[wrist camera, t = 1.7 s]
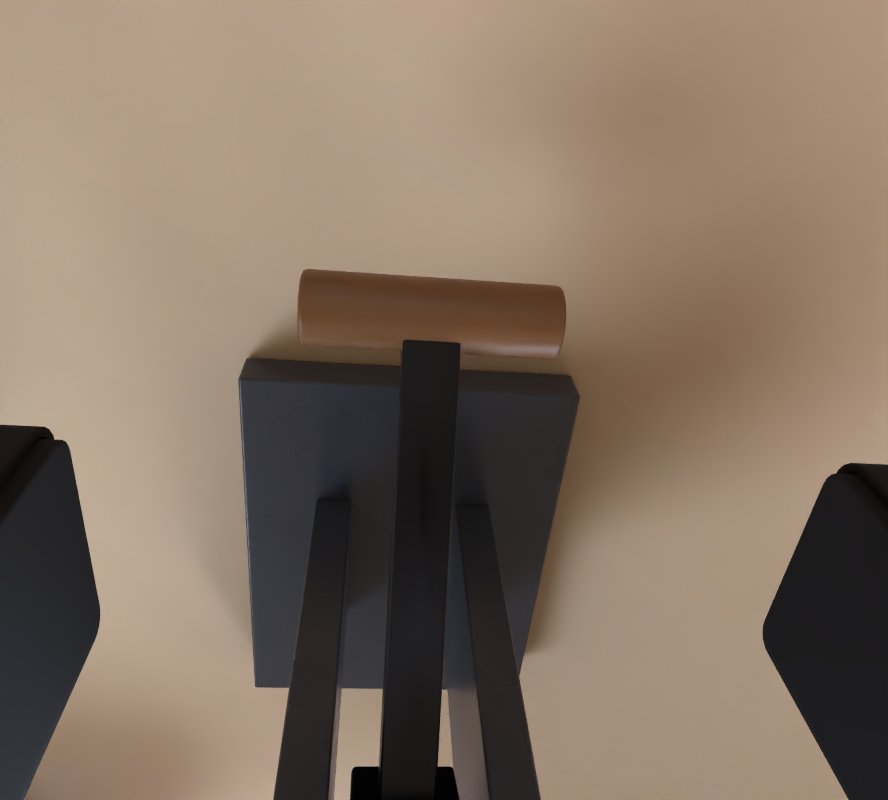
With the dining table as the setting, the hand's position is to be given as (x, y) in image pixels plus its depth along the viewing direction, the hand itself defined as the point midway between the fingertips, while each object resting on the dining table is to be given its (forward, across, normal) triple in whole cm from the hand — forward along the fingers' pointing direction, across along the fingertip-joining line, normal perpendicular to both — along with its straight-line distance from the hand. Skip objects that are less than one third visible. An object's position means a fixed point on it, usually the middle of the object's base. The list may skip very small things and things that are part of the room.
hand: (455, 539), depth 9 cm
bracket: (+11, 0, +9) cm, 14 cm away
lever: (+4, 0, +5) cm, 7 cm away
